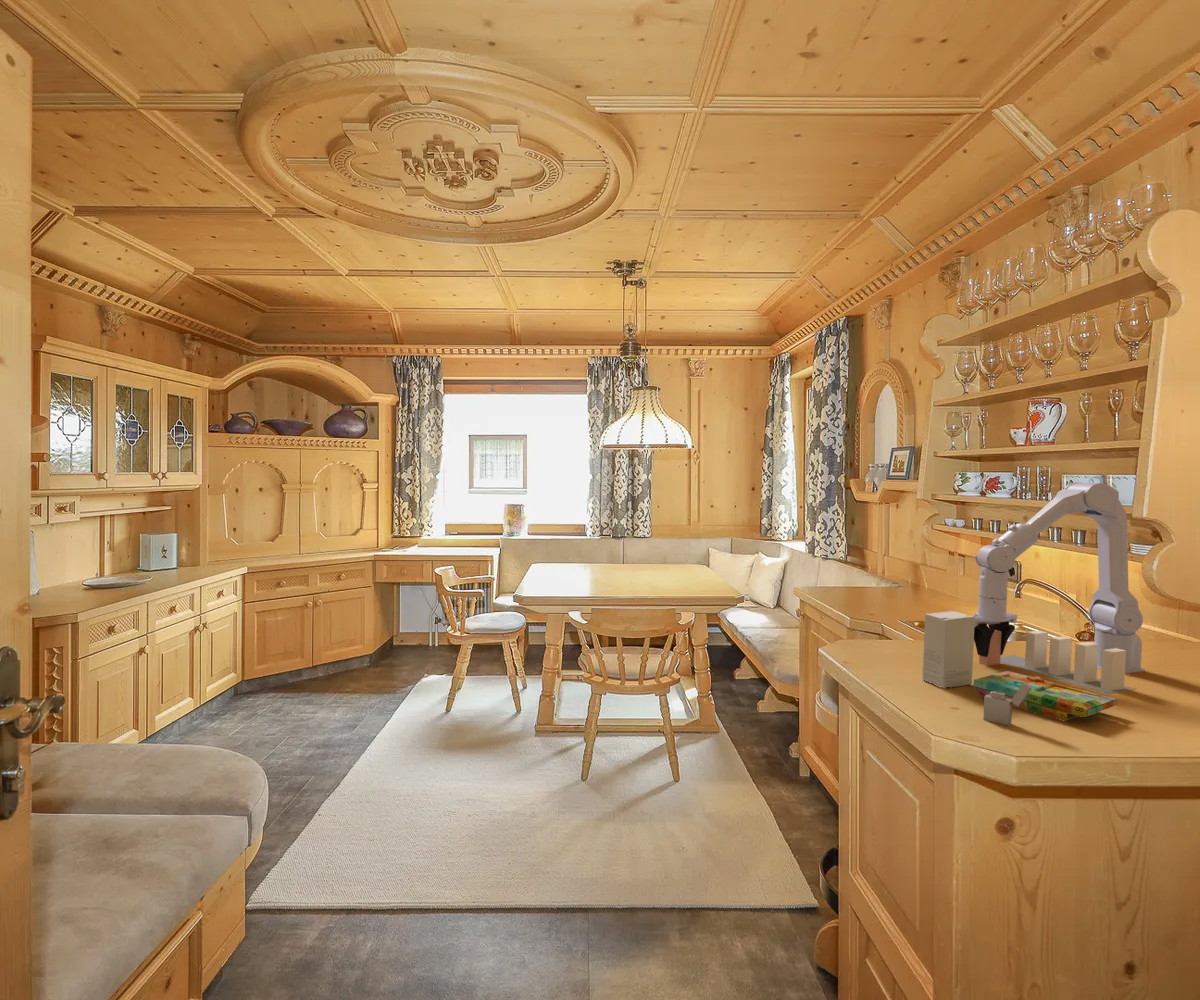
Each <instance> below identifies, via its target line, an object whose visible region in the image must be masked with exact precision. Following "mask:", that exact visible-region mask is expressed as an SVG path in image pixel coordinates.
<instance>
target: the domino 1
mask: <svg viewBox="0 0 1200 1000" xmlns="http://www.w3.org/2000/svg"><path fill="white" fill-rule="evenodd" d="M1001 634H1002V632H1001V631H997V630H995V631H994V633H993V635H992V637H991V641H990V646H989V653H988V656H987V657H984V656H980V655H978V656H979V657H978V658H979V661H978V664H981V665H982V666H983V665H984V666H993V665H999V664H1001V662H1000V657H1001V655H1000V653H1001Z"/></svg>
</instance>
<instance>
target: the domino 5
mask: <svg viewBox="0 0 1200 1000" xmlns="http://www.w3.org/2000/svg"><path fill="white" fill-rule="evenodd" d="M1125 664H1126V650H1121V649H1117V648H1114V649H1106V650H1103V651H1102V669H1100V671H1101V672H1100V673H1101V674H1100V679H1101V688H1103V689H1107V690H1110V691H1112V690H1118V689H1124V686H1125V678H1126V673H1125Z"/></svg>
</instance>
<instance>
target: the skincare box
mask: <svg viewBox="0 0 1200 1000" xmlns="http://www.w3.org/2000/svg"><path fill="white" fill-rule="evenodd" d="M974 625H975V617H973V615H970V614H966V613H962V612H959V611H956V610H949V611H942V612H932V613H925V614H924V635H923V655H922V656H923V657H922V658H923V659H922V677H921V678H922V681H923V680H925V681H924V682H926V681H928V682H931V683H933V684H936V685H938V686H941V687H943V688H944V689H947V688H946V687H950V688H955V687H962V686H969V685H970V686H971V685H972V684H973V668H974V667H973V666H974V664H973V663H974V644H975V641H974ZM928 682H927V683H928ZM931 683H930V684H931ZM933 684H932V685H933ZM938 686H937V687H938ZM943 688H942V689H943Z"/></svg>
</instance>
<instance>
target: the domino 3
mask: <svg viewBox="0 0 1200 1000" xmlns="http://www.w3.org/2000/svg"><path fill="white" fill-rule="evenodd" d="M1072 649H1073V638H1072V637H1069V636H1065V635H1062V636H1053V637H1050V638H1049V657H1048V665H1049V672H1048V673H1050V674H1054V675H1057V676H1058V675H1064V674H1070V673H1071V671H1072V669H1071V668H1072V667H1071V666H1072Z"/></svg>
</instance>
